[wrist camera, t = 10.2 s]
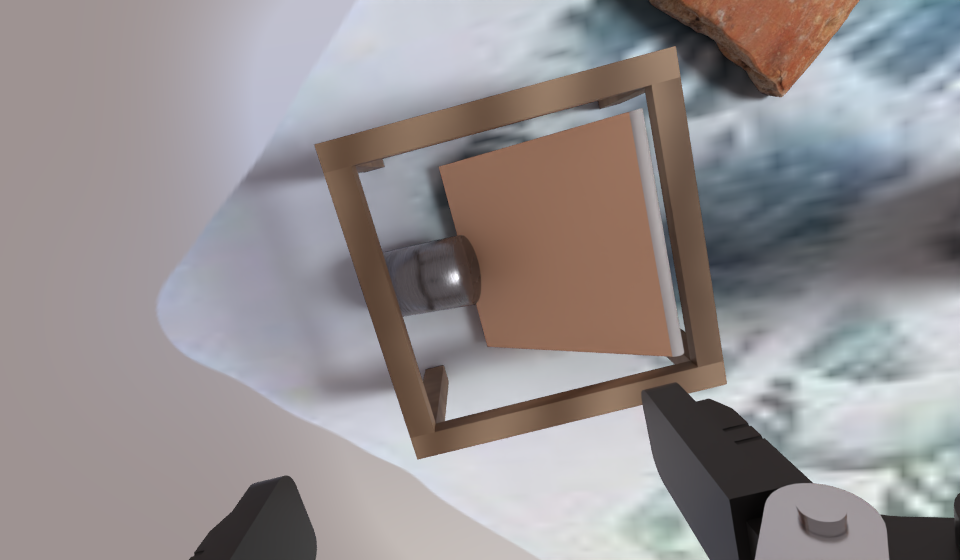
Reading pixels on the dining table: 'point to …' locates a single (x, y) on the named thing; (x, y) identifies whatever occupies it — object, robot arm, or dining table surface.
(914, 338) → the dining table surface
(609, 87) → the trapdoor frame
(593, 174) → the trapdoor
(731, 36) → the reddish brown rock
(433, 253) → the cylinder
